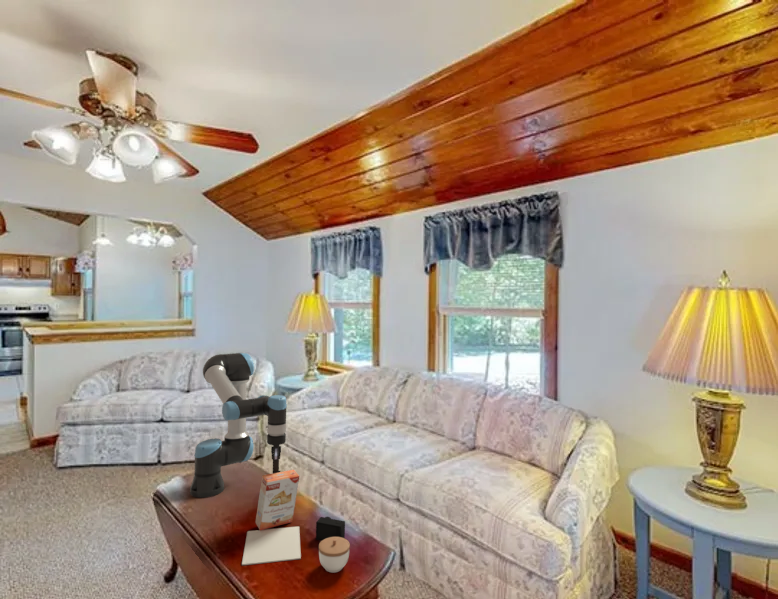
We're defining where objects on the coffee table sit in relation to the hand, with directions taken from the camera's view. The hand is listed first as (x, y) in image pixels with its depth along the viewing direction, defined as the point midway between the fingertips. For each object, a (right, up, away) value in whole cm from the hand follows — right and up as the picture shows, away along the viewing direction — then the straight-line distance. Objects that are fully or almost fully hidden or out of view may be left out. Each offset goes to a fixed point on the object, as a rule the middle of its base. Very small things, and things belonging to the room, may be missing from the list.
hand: (275, 490), depth 181 cm
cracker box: (0, -12, -4) cm, 13 cm away
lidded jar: (+28, -13, -31) cm, 44 cm away
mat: (+4, -13, -18) cm, 22 cm away
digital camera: (+25, -13, -13) cm, 31 cm away
